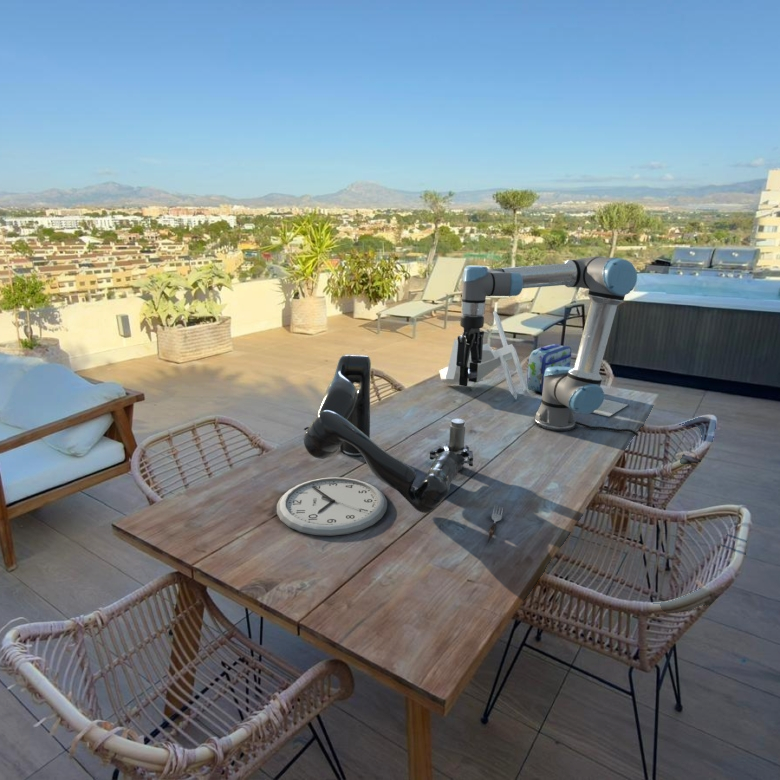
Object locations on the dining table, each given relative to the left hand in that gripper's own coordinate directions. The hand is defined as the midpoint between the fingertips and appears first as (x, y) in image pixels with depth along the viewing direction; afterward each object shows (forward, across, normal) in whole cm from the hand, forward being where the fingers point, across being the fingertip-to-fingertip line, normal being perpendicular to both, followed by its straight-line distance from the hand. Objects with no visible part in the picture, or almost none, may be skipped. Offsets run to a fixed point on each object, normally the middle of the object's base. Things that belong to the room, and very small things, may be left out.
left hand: (458, 446), depth 167 cm
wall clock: (-38, -26, -6) cm, 47 cm away
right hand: (+15, -1, +17) cm, 23 cm away
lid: (+15, -1, +21) cm, 26 cm away
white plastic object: (+80, -8, -6) cm, 80 cm away
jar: (-3, 0, -6) cm, 7 cm away
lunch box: (+98, +21, -6) cm, 100 cm away
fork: (-33, +17, -6) cm, 38 cm away
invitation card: (+80, +45, -6) cm, 92 cm away
